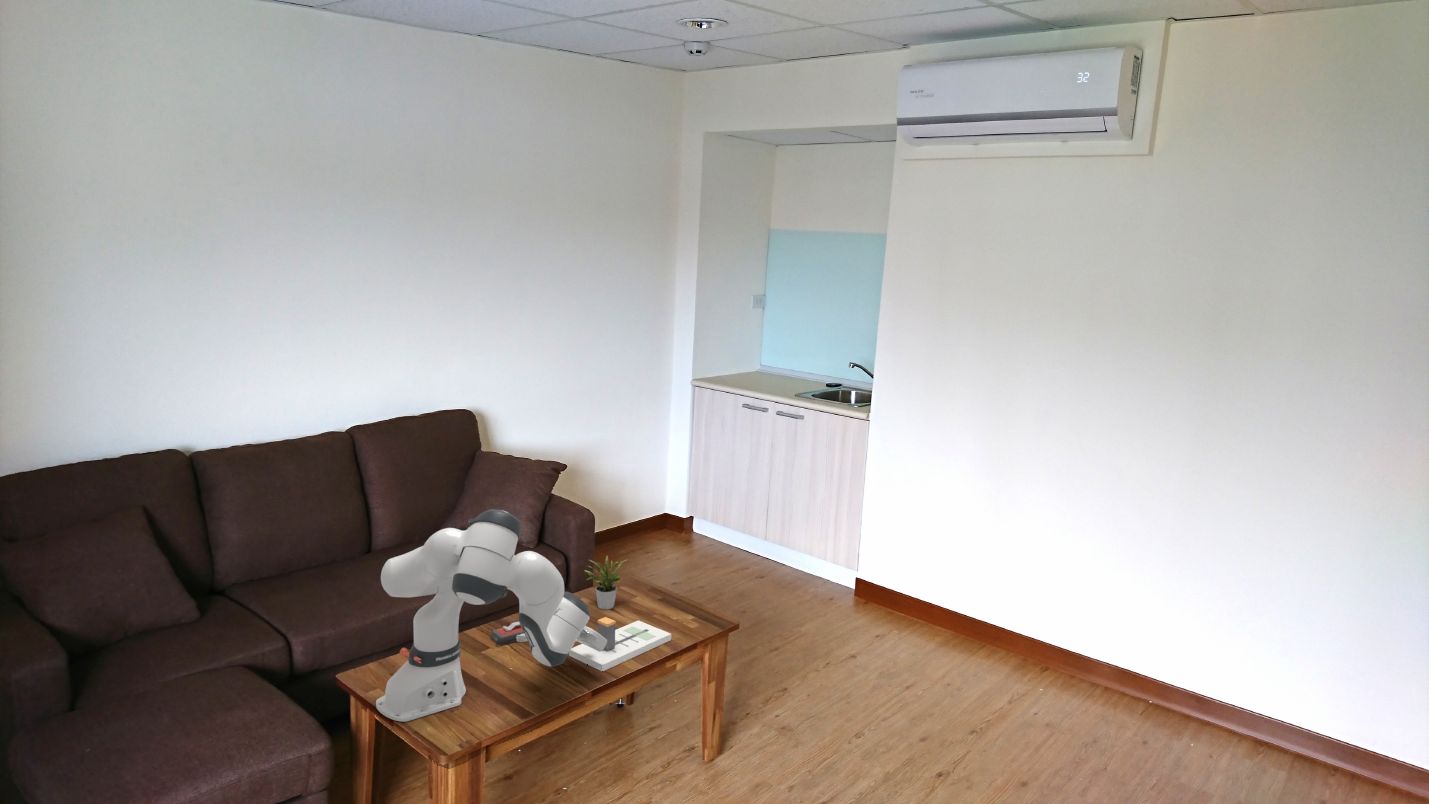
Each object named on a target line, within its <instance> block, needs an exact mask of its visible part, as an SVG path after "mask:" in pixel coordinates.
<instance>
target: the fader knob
mask: <svg viewBox="0 0 1429 804" xmlns="http://www.w3.org/2000/svg"><path fill="white" fill-rule="evenodd" d="M616 624H617V621H616V620H614V619H611V618H609V617H607V616H604V617H602V618H600V619H597V633H599V634H600V635H601V636H603V637H604V638H605V639H606V640H607V644H606V646H605V647H604V650H607V651H608V650H610V649H613V648H615V630H616Z"/></svg>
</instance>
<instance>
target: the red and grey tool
mask: <svg viewBox="0 0 1429 804" xmlns="http://www.w3.org/2000/svg"><path fill="white" fill-rule="evenodd" d="M491 640H492V641H494V642H495V645H497V646H504V645H507V644H512V643H515V642H517V643H526V642H528V640H527V638H526V636H525V634H524V632H523V630H522V628H521V625H520V623H519V621H515V622H511V623H510V625H509V626H506V625H503V626H502V627H500V628H496V629H493V630H491Z"/></svg>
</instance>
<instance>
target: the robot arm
mask: <svg viewBox="0 0 1429 804" xmlns="http://www.w3.org/2000/svg"><path fill="white" fill-rule="evenodd" d="M467 522H468V524H469V526H468V528H467V529H466V530H461V529H458V528H455V527H446V528H442V529H440V530H438V531H436V532H435V533H433V534H432V535H430V536H429V537H428V539H427V540H426V541H425V542H424V543H423V544H424V545H422V546H420V547H417V548H415V549H413V550H411V551H409V552H406V553H403V554H401V555H398V556H394V557H391V558H389V559H387V560H386V562H385V563H384V565H383V567H382V569H381V573H380V582H381V586H382V588H383V590H384V591H385V592H386V593H387V595H389V597H391V598H392V597H393V598H417V597H422V596H424V597H425V596H431V595H434V597H433V599H431V600H430V601H429V602H428V603H426V604H424V605H423V606H421V607H420V608H419V609H418V610H417V612H415V615H414V617H413V620H412V621H413V622H412V623H413V624H412V625H413V643H412V646H411V649H410V650H409V649H407V648H406V647H402V648H401V649H400V650H399V655H400V656H402V657H404V658H407V660H406V661H405V662H404V664H403V665H402V666H400V668H398V670H397V671H396V672H395V673H394V674H392V676H391V677H390V678H389V679H388V680H387V683H386V685H385V691H384V695H382V696H380V697H379V698H377V699H376V700H375V701H376V702H375V708H376V710H377V711H378V712H379V713H380V714H382V715H383V716H384V717H386V718H388V719H390V720H393V721H396V722H397V721H398V722H404V723H406V722H410V721H412V720H416V719H419V718H423V717H425V716H426V717H427V716H429V715H432V714H436V713H439V712H441V711H445V710H449V709H452V708H455V707H458V706H461V704H462V698H463V697H464V696H465V694H466V691H467V687H466V686H465V683H464V682H465V681H464V678H463V675H462V670H461V669H462V668H461V663H460V662H461V661H460V657H461V640H460V638H459V623H460V621H459V620H460V613H461V609H462V606H463V604H464V602H465V603H467V604H470V605H475V606H476V605H478V606H479V605H481V606H485V605H489V604H491V603H494V602H496V601H497V600H499V599H501V598H505V597H507V595H508V591H507V590H509V591H511V592H513V593H514V594H515V596H516V597H517V599H518V601H519V603H518V604H519V605H518V606H519V613H518V622H519V623H520V625H521V628H522V630H523V632H524V634H525V636H526V638H527V640H528V641H527V642H528V644H529V650H530V653H531V655H532V656H533V657H534V658H535V660H536V661H538V662H539V663H540V664H542V665H544V666H546V667H550V668H553V667H557V666H560V665H563V664H564V663H565V661H566V659H567V658H568V655H569V651H570V650H571V648H573V647H574V646H575V643H576V642H578V643H579V644H584V645H586V646H588V647H591V648H593V649H595V650H597V651H599V652H601V651H602V650H603V649H604V647H605V646H606V644H607V640H606V639H605V638H604V637H603V636H601V635H600V634H599V633H598V631H596V630H594V629H593V628H591V627H589V626H587V624H588V623H589V620H590V618H591V611H590V608H589V605H587V604H586V603H585V602H584V601H583V600H582V599H581V598H580V597H578V596H577V595H576V594H575V593H572V592H569V591H565V582H564V578H563V576H562V574H561V572H560V571H559V570H558V568H557V567H556V566H555V565H554V564H553V563H552V562H551V561H550V560H549V559H547V558H546V557H545V556H544V555H541V554H540V553H539V552H535V551H532V550H526V551H522V552H519V553H517V554H515V552H516V549H517V544H518V541H519V540H520V537H521V533H522V523H521V521H520V520H519V519H518V518H517V517H516V516H515V515H513V514H511V513H510V512H508V511H505V510H502V509H496V508H492V509H491V508H490V509H488V510H485V511H483V512H481V513H480V514H478V515H477V516H476V517H475V518H470V519H469V520H468V521H467Z"/></svg>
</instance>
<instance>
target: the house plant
mask: <svg viewBox="0 0 1429 804" xmlns="http://www.w3.org/2000/svg"><path fill="white" fill-rule="evenodd" d="M628 560H629V559H623V560H621V561H619V562H618V561H615V562H614V563H613V560H611V561H610V565H609V557H608V555H606V557H605V563H604V567H603V566H602V564H601V563H600V562H597V561H596V562H595V561H594V560H591V559H588V561H590V562H592V564H594V565H595V566H596V568H597V569H598V571H597V570H596V569H595V568H593V566H590V565H587V567H588V568H591V569H592V570H594V571H595V572H596V573H597V574H598V575H599V576H598V575H597V574H594V573H593V572H592V571H589V570H587V569H583V571H584V573H587V574H588V576H590V577H588V578H586V581H588V580H595V582H596V583H598V585H597V586H596V587H595V589H594V590H595V595H596V596H595V597H596V602H597V607H598V608H599V609H601V610H611V609H613V608H614V607H615V602H616V597H617V590H618V587H617V586H616V585H614V584H615V583H616V582H618V583H621V580H622V578H620V577H622V575H621V574H617V571H620V570H621V569H622V567H620V566H621V565H622V564H624V562H626V561H628ZM617 563H618V564H617ZM615 564H616V566H615ZM614 566H615V568H614V570H613V567H614ZM619 567H620V569H619ZM612 570H613V572H612Z"/></svg>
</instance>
